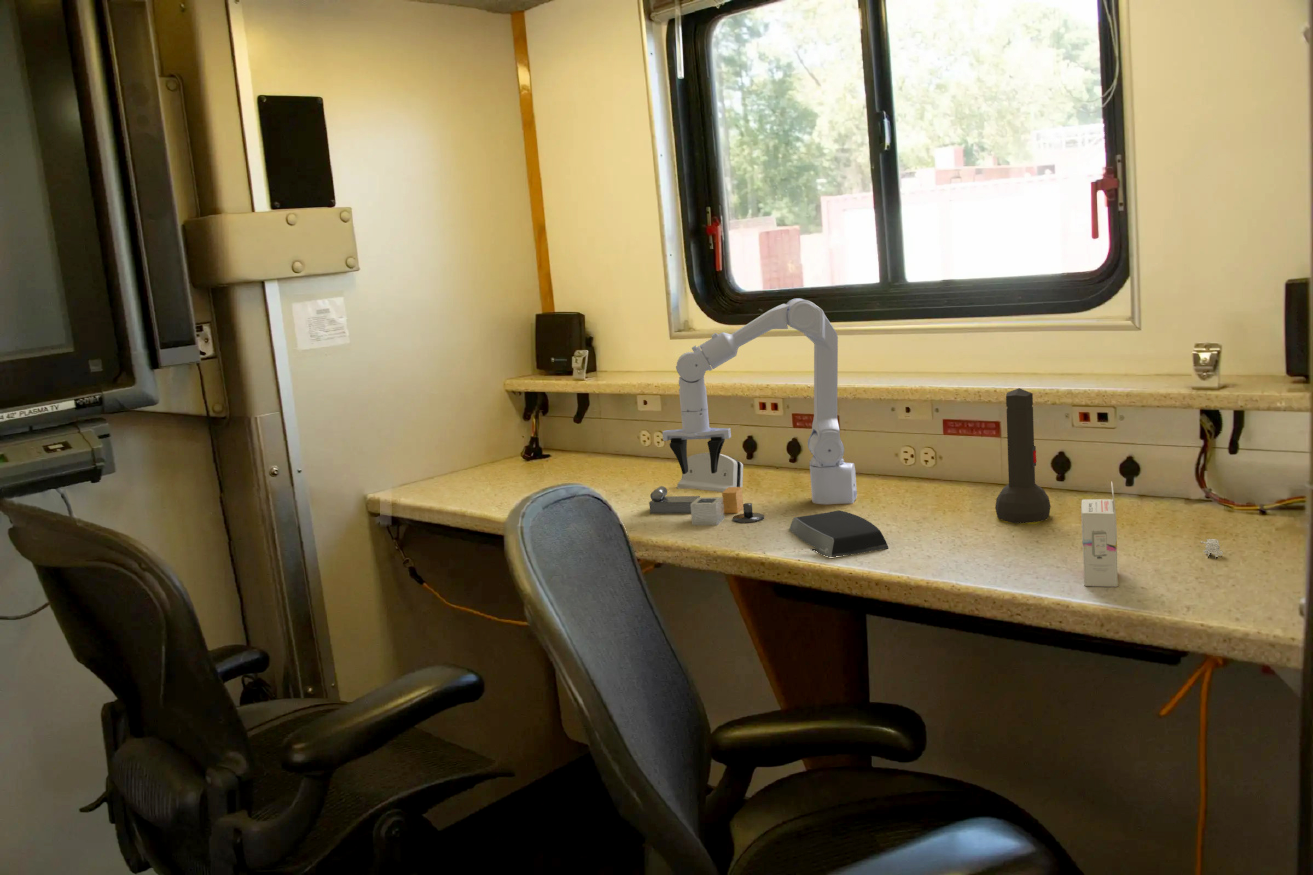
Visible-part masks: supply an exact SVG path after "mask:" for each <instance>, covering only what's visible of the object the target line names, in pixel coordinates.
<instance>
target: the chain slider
mask: <svg viewBox="0 0 1313 875" xmlns="http://www.w3.org/2000/svg"><path fill="white" fill-rule="evenodd" d="M721 495H722V497H723V504H724V514H738V513H740V511H741V510H742V509H743V504H744V498H743V497H744V496H743V487H728V488H727V489H726V490H725V491H724V492H721Z"/></svg>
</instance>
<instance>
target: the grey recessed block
mask: <svg viewBox="0 0 1313 875" xmlns="http://www.w3.org/2000/svg"><path fill="white" fill-rule="evenodd" d="M690 505H691V516H690V517H691V525H692V526H718V525H719V524H720V523H722V521H723V520H725V517H726V516H725V513H724V504H723V497H721V496H720V497H718V496H717V497H713V496H711V497H700V498H697V499H696V500H695V501H693V502H692V503H691V504H690Z"/></svg>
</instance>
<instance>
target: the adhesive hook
mask: <svg viewBox="0 0 1313 875" xmlns="http://www.w3.org/2000/svg"><path fill="white" fill-rule="evenodd" d="M1200 543H1201V544H1205V546H1204V548H1205V549H1204V550H1202V551H1203V553H1204V554H1205V553H1206V554H1208V555H1207V557H1208V556H1209V555H1214V557H1215V558H1216V557H1218V555H1222V554H1223V553H1224V552H1223V551H1222V550H1220V548H1221V547H1220V543H1219V540H1218V539H1214V538H1206V541H1202V540H1201V541H1200ZM1210 553H1212V554H1210ZM1206 554H1205V555H1206ZM1223 555H1224V554H1223ZM1209 557H1210V556H1209ZM1218 558H1219V557H1218Z"/></svg>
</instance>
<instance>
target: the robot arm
mask: <svg viewBox="0 0 1313 875" xmlns="http://www.w3.org/2000/svg"><path fill="white" fill-rule="evenodd" d="M788 326H789V327H790V328H792V329H794V330H796V331H798V332H799V333H800V332H801V333H802V334H803V335H804V336H805V337H806V338H807V339H808V340H810V341H811V342H812V343H813V345H814V348H813V352H814V353H813V355H814V356H813V359H814V360H813V363H814V364H813V420H812V424H811V432H810V435H809V437H808V439H807V447H808V450H809V452H810V453H811V454H812V457H811V459H810V460H809V474H810V476H809V477H810V489H811V490H810V491H811V501H812V503H813V504H816V505H817V504H818V505H835V504H836V505H839V504H840V505H841V504H842V505H843V504H854V503H855V500H856V499H857V497H858V491H857V476H856V475H857V474H856V473H857V472H856V468H855V467H856V466H855V463H854V462H845V458H843V456H844V455H845V446H844V443H843V442H842V439H841V434H840V432H841V431H840V425H839V421H838V376H839V375H838V373H839V372H838V367H839V364H838V362H839V361H838V360H839V359H838V357H839V354H838V353H839V352H838V351H839V349H838V348H839V344H838V343H839V340H838V339H839V337H838V332H837V331H836V329H835V328H834V327H833V325H832V324H831V322H830V320H829V319H828V318H827V316H826V314H825V312H824V310H823V309H822V308H821V307H819V306H818V305H816V304H815V303H814V302H812V301H811V300H807V299H804V298H800V297H798V298H793V299H790V300H788V301H787V302H786V303H782V304H779V305H777V306H775V307H773V308H771V309H769V310H767V311H766V312H764V313H762V314H761V315H760V316H758V317H756V318H755V319H753V320H751V321H750V322H748V323H747V324H745V325H743V326H742V327H741V328H739V329H737V330H736V331H734V332H733V333H727V332H724V331H723V332H720V333H717V332H714V333H713V334H711V335H710V336H711V338H710V339H708V340H706V341H705V342H703V343H701V344H700V345H698V346H696V345H693V346H692V347H691V350H692V351H688V352H687V351H686V352H684V353H683V354H681V355H680V356H679V357H678V359H677V362H676V366H675V369H676V372H677V373H678V375H679V378H678V385H679V389H678V393H679V404H680V417H681V427H682V428H680V429H679V428H678V429H670V430H669V429H667V430H663V431H662V441H664V442H665V441H666V442H667V441H670V442H669V445H668V446H669V447H670V449H671V450H672V452H673V454H674V455H675V457H676V460H677V462H678V464H679V467H680V469H681V470H680V471H681V475H682V474H686V473H687V472H688V462H687V458H688V455H687V454H688V452H687V448H688V444H687V443H688V440H708V441H707V447H708V451H709V452H708V453H710V460H711V473H716V472H717V467H718V460H719V455H720V454H721V451H722V449H723V446H724V443H725V440H729V439H731V438H732V431H731V430H732V429H731V428H730V427H725V428H721V427H710V420H709V419H710V417H709V407H708V406H709V405H708V394H707V387H706V383H705V377H704V376H705V374H706V371H710V372H711V371H713V370H714V369H716V368H718V367H720V366H721V365H723V364H725V363H726V362H728V361H730V360H732V359H733V358H735V357H737V354H738V350H739V348H740V347H743V345H745V344H747V343H749V342H751V341H752V340H755V339H757V338H758V337H761V336H762V335H764V334H766V333H768V332H770V331H771V330H787V329H788V330H789V327H788Z"/></svg>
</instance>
